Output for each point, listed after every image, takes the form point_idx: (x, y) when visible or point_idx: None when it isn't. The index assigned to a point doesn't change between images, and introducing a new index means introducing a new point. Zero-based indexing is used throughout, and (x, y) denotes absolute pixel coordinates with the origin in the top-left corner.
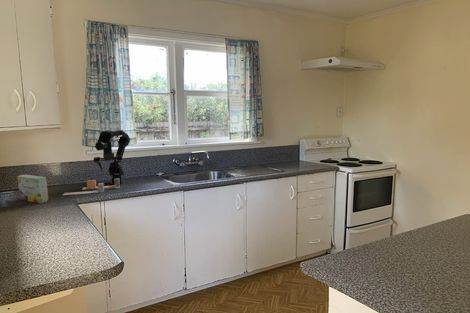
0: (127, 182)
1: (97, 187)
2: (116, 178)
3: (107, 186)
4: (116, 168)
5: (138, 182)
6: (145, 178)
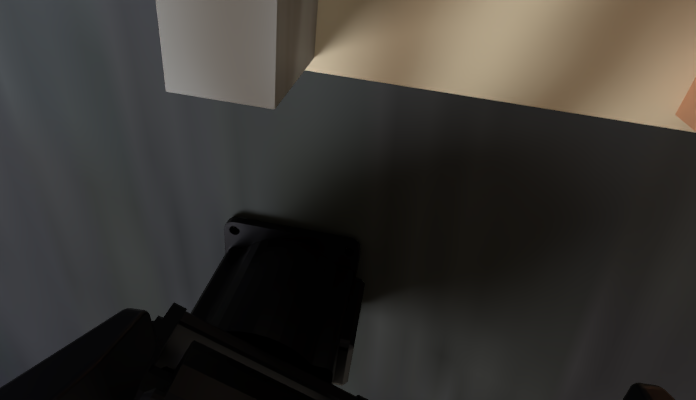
0: (164, 270)
1: (677, 39)
2: (232, 94)
3: (465, 37)
4: (70, 350)
5: (9, 197)
6: (2, 356)
